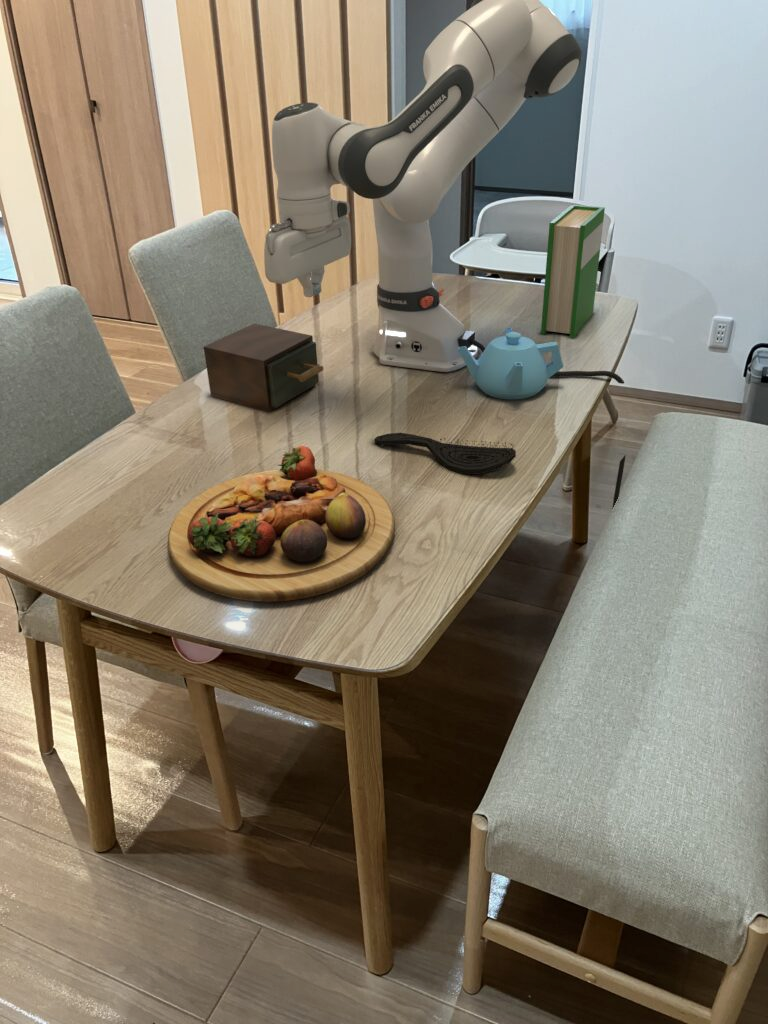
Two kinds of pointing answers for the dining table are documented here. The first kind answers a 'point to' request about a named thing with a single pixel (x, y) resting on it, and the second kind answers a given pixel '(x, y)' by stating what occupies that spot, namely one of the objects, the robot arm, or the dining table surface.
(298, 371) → the drawer
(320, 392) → the dining table surface
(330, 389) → the dining table surface
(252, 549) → the wooden plate
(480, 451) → the hairbrush
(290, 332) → the cabinet
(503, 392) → the teapot
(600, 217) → the hardback book
